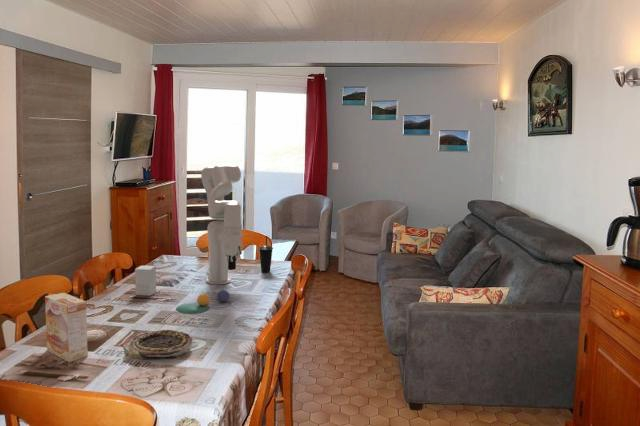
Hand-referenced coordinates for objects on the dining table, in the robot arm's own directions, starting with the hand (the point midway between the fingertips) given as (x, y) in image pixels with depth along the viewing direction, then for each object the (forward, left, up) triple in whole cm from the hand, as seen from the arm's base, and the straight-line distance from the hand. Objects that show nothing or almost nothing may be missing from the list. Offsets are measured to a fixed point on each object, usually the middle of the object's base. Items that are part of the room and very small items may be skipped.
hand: (231, 269), depth 253 cm
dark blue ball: (+1, -6, -11) cm, 13 cm away
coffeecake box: (+13, -80, -14) cm, 82 cm away
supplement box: (-33, -25, -14) cm, 44 cm away
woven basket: (+32, -55, -15) cm, 65 cm away
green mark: (0, -21, -14) cm, 25 cm away
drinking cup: (-28, +45, -14) cm, 55 cm away
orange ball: (0, -15, -11) cm, 19 cm away
